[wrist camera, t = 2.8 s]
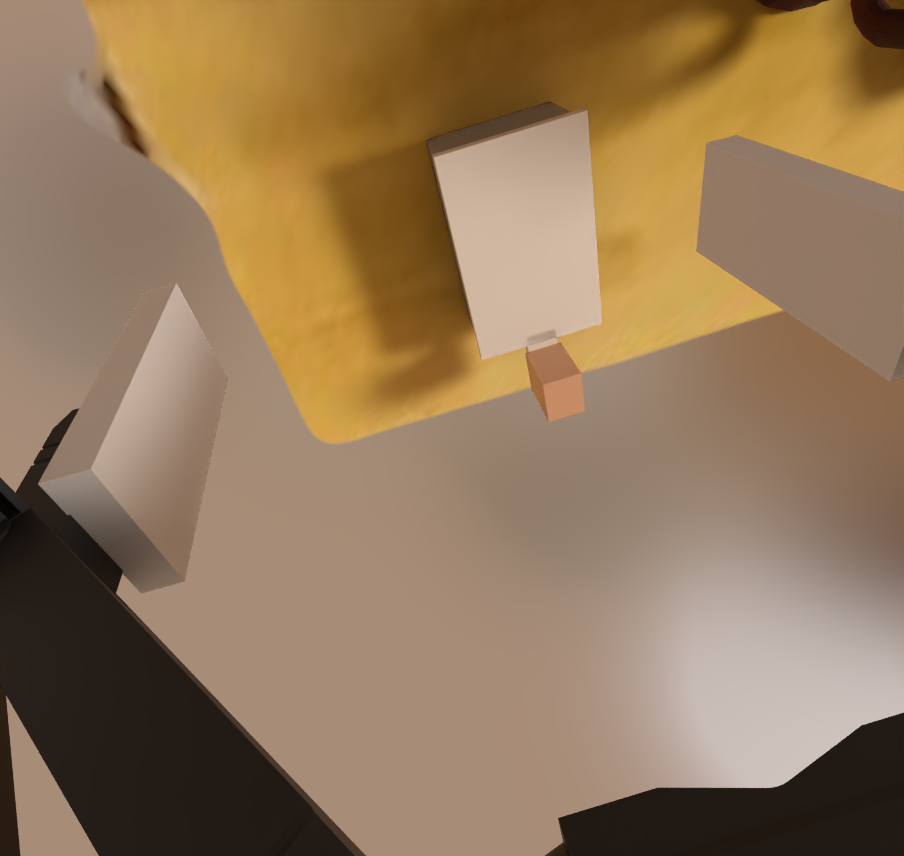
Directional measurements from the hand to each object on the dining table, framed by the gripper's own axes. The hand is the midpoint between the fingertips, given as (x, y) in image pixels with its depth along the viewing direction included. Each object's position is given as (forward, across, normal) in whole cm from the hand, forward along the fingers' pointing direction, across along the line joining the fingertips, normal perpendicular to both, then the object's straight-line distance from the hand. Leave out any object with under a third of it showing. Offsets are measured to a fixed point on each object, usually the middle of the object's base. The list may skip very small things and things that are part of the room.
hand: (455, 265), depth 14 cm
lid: (+29, +9, -15) cm, 34 cm away
